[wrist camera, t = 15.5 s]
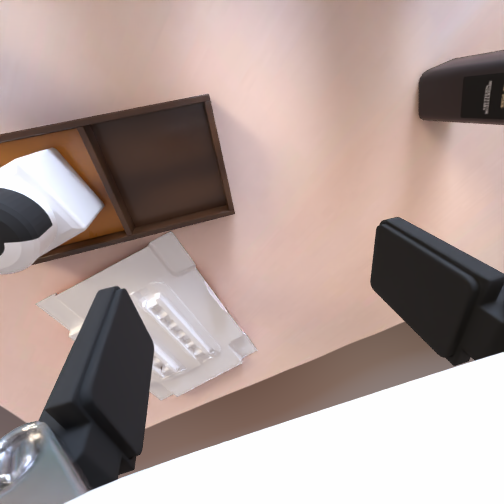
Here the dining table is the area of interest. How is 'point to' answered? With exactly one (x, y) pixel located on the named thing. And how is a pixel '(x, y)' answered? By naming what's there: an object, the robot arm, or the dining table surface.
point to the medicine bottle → (41, 207)
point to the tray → (165, 315)
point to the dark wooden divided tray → (137, 169)
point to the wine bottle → (464, 90)
